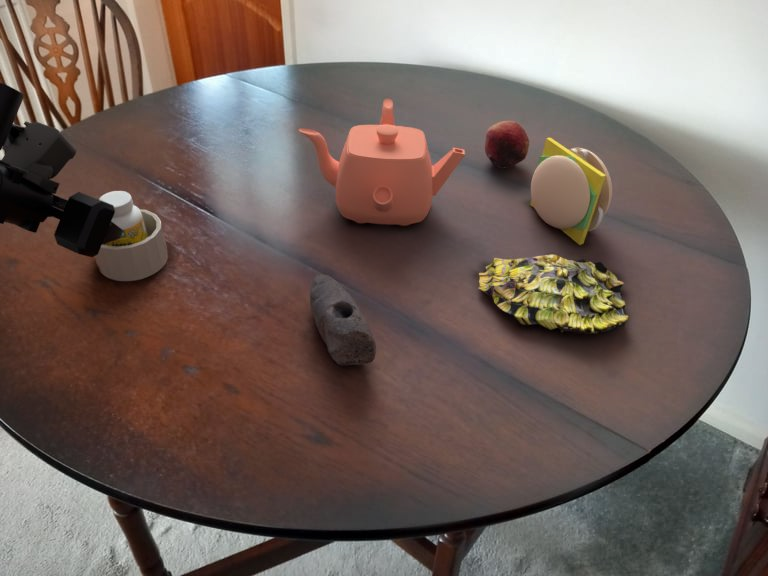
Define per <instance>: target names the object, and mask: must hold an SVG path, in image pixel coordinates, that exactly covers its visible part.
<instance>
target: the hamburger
mask: <svg viewBox="0 0 768 576" xmlns="http://www.w3.org/2000/svg"><path fill="white" fill-rule="evenodd" d="M531 178H532V179H531V183H530V196H531V200H530V202H529V206H531V207H532V208H534V210H535V211H536V213H537V214H538V216H539V217H540V219H541V220H543V222H545V223H546V224H547V225H549V226H550V227H553V228H555V229H559V230H560V231H562V232H563V233H564V234H566V235H567V236H568V237H569V238H570V239H571V240H573V241H574V242H575V243H576V244H577V245H579V246H581V245H584V243H585V241H586V238H587V235H588V232H591V231H594V230H596V229H597V228H598V227H599V226H600V225H601V223H602V221H603V218H604V216H605V215H606V214H607V212H608V210H609V208H610V206H611V204H612V203H611V202H612V198H613V184H612V180H611V176H610V173H609V171H608V169H607V166H606V165H605V163H604V161H602V160H601V158H600V157H599V156H598V155H596V154H595V153H594V152H592V151H591V150H589V149H586V148H582V147H572V148H566V147H565V146H564V145H562V144H561V143H559V141H556V139H555V140H554V139H553V138H552V137H547V138H545V142H544V146H543V150H542V154H541V155H540V156H539V158H538V163H537V166H536V169H535V170H534V172H533V174H532V177H531Z"/></svg>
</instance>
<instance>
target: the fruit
mask: <svg viewBox="0 0 768 576" xmlns="http://www.w3.org/2000/svg"><path fill="white" fill-rule="evenodd" d="M529 149H530V139H529V136H528V133H527V132H526V130H525V129H524V127H523V126H522V125H521V124H519V122H516V121H514V120H504V121H503V120H502V121H499V122H497V123H495V124H492V125H491V126H490V127H489V128H488V129H487V131H486V134H485V140H484V152H485V155H486V157H487V158H488V160H489V161H490V163H492V165H494V166H496V167H498V168H500V169H508V168H511V167H514V166H516V165H518V164H519V163H521V162H523V161H524V160H525V159H526V158H527V155H528V153H529Z"/></svg>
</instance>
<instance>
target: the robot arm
mask: <svg viewBox="0 0 768 576" xmlns="http://www.w3.org/2000/svg"><path fill="white" fill-rule="evenodd" d="M24 98H25V94H24V93H23V92H21V91H19V90H17V89H16V88H13V87H11V86H10V85H8V84H4V83H3V82H0V151H2V150H3V151H4V153H3V154H4V155H3V157H2V159H0V224H1V225H4V223H7V224H11V225H14V226H15V227H18V228H21V229H23V230H25V231H27V232H31V233H34V234H37V232H38V229H39V227H40V224H41V223H44V222H45V221H46V220H47V219H48V218H55V219H57V220H59V221H58V224H57V226H56V229H55V231H54V234H53V236H54V239H55V241H56V242H55V243H56V245H58V246H60V247H62V248H64V249H66V250H69V251H71V252H74V253H75V254H78V255H79V256H85V257H89V258H95V257H94V256H96V255H98V253H99V250H100V248H101V245H103V244H106V243H109V242H111V241H114V240H117V239H120V238H121V236H122V234H123V230H122V229H121V228H120V227H118V226H117V225H116V224H114V223H113V222H112V218H113V216H114V213H115V209H114V206H113V205H111V204H109V203H106V202H104V201H101V200H99V199H100V198H96V197H94V196H91V195H89V194H85V193H83V192H81V191H77V192H76V193H74V194H72V195H70V196H68V199H66V198H65V197H61V196H60V195H59V196H58V195H57V194H56V193H57V192H58V189H59V186H60V184H61V183H59V182H57V181H56V180H52V179H54V178H55V177H56V176H58V174H59V173H60V172H61V171H62V170H63V168H64V167H65V166H67V164H68V162H69V161H70V160H73V159H74V157H75V156H76V154H77V148H76V147H75V146H74V144H72V143H71V142H70V141H69V139H68V138H67V137H66V136H64V134H63V133H62V132H61V131H60V130H59V129H57V128H55V127H52V126H50V125H47V124H44V123H42V122H38V121H34V122H29V121H24V123H23V125H24V126H21V125H18V124H15V119H16V118H17V115H18V112H19V111H20V109H21V105H22V103H23V100H24Z"/></svg>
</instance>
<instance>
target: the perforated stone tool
mask: <svg viewBox="0 0 768 576" xmlns="http://www.w3.org/2000/svg"><path fill="white" fill-rule="evenodd" d="M309 304H310V310H311V313H312V317H313V320H314V323H315V325H316V328H317V330H318V332H319V335H320V337H321V338H322V340H323V342H324V344H326V346H327V352H328V354H329V355H330V357H331V359H332V360H333V361H335V363H336V364H337V365H339V366H340V367H341V366H364V365H366V364H371V363H373V362H374V360H375V359H376V354H377V346H376V341H375V338H374V336H373V333H372V331H371V328H370V326H369V325H368V324H369V323H368V322H367V320H366V318H365V315H364V314H363V313H362V311H361V309H360V308H359V305H357V303H356V301H355V300H354V298H353V297H352V296H351V294H350V293H349V292H348V291H347V290H346V289H345V288H344V286H342V285H341V284H340V283H339V282H338V281H336V280H335V279H334V278H333V277H332V276H330V275H328V274H325V273H319V274H317V275H316V276H315V277H314V278H313V280H312V282H311V285H310V289H309Z"/></svg>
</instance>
